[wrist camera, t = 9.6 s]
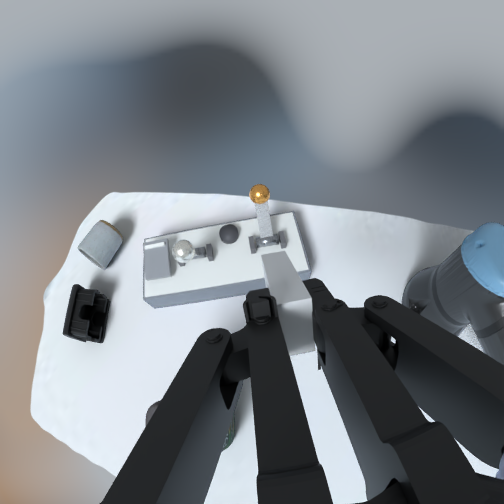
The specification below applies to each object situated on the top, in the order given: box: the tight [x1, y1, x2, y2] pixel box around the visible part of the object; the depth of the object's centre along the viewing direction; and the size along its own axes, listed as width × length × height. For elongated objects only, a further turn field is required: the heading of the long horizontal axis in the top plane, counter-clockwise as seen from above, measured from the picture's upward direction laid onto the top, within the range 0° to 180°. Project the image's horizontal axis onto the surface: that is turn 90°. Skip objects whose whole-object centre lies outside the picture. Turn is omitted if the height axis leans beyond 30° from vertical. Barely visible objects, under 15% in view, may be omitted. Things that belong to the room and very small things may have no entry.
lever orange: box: [249, 184, 279, 248], centre depth 43 cm, size 3×4×10 cm
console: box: [143, 211, 311, 308], centre depth 47 cm, size 12×28×7 cm, turn 99°
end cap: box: [63, 284, 110, 343], centre depth 44 cm, size 10×7×7 cm
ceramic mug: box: [78, 220, 123, 270], centre depth 51 cm, size 11×8×8 cm
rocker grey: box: [143, 238, 172, 281], centre depth 44 cm, size 6×4×1 cm
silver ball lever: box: [172, 239, 207, 263], centre depth 40 cm, size 3×4×10 cm
